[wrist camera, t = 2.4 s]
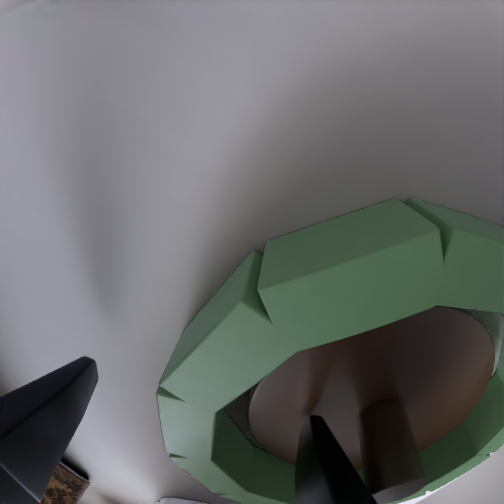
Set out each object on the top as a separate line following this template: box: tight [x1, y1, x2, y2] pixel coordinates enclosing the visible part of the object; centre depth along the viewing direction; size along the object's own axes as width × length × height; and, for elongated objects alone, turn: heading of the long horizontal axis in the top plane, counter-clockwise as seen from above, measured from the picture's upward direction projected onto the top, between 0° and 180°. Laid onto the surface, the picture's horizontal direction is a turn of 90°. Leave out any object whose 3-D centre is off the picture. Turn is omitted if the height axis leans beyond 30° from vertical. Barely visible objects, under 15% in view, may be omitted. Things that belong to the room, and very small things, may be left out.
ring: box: [156, 198, 504, 504], centre depth 8 cm, size 14×14×2 cm
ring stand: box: [247, 305, 495, 504], centre depth 7 cm, size 9×9×4 cm
